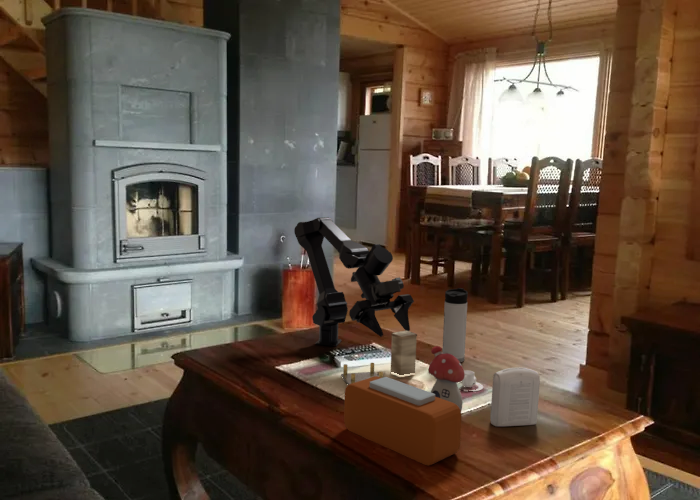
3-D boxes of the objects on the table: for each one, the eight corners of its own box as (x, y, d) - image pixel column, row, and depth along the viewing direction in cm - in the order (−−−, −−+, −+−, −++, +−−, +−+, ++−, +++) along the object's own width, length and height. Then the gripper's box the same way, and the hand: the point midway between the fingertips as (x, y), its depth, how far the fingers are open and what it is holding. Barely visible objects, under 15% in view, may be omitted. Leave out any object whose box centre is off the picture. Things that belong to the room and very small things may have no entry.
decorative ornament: (421, 408, 150) (424, 344, 148) (447, 405, 153) (450, 342, 151) (441, 424, 142) (444, 356, 140) (468, 421, 144) (471, 354, 142)
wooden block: (389, 373, 174) (391, 333, 173) (404, 370, 177) (406, 330, 176) (400, 378, 171) (402, 336, 169) (415, 374, 174) (417, 333, 172)
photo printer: (530, 417, 147) (533, 363, 145) (539, 425, 143) (543, 370, 141) (487, 421, 144) (490, 366, 143) (495, 428, 140) (499, 372, 139)
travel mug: (468, 358, 189) (471, 289, 186) (459, 364, 184) (462, 293, 181) (448, 354, 192) (451, 286, 190) (438, 360, 187) (441, 290, 184)
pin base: (340, 376, 171) (341, 364, 170) (374, 374, 173) (374, 361, 173) (350, 388, 162) (350, 375, 162) (385, 386, 165) (385, 373, 164)
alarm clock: (460, 456, 127) (463, 399, 126) (433, 469, 122) (435, 410, 120) (370, 418, 144) (372, 368, 143) (343, 428, 139) (344, 376, 137)
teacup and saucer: (465, 379, 172) (466, 364, 172) (491, 387, 167) (492, 371, 166) (444, 387, 166) (445, 371, 166) (470, 395, 161) (471, 379, 160)
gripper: (356, 270, 172) (382, 321, 164) (410, 265, 183) (437, 312, 175) (338, 295, 179) (362, 344, 172) (391, 288, 190) (416, 334, 183)
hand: (395, 333), depth 175 cm, fingers open, 9 cm apart
